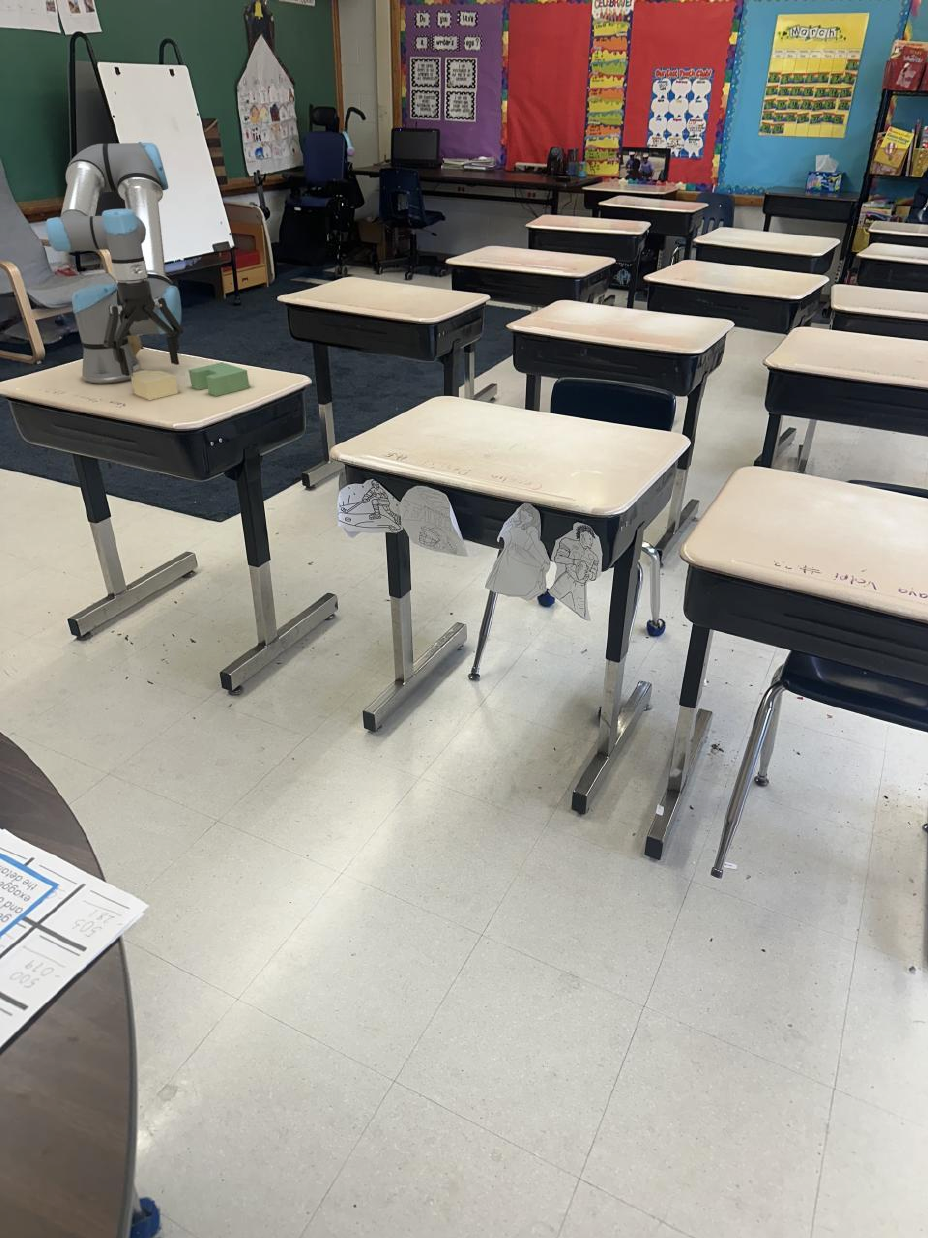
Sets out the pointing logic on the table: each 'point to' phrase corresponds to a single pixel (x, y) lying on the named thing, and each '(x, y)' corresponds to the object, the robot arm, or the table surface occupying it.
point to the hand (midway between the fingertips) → (151, 369)
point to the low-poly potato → (135, 343)
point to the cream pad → (153, 384)
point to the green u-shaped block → (219, 378)
